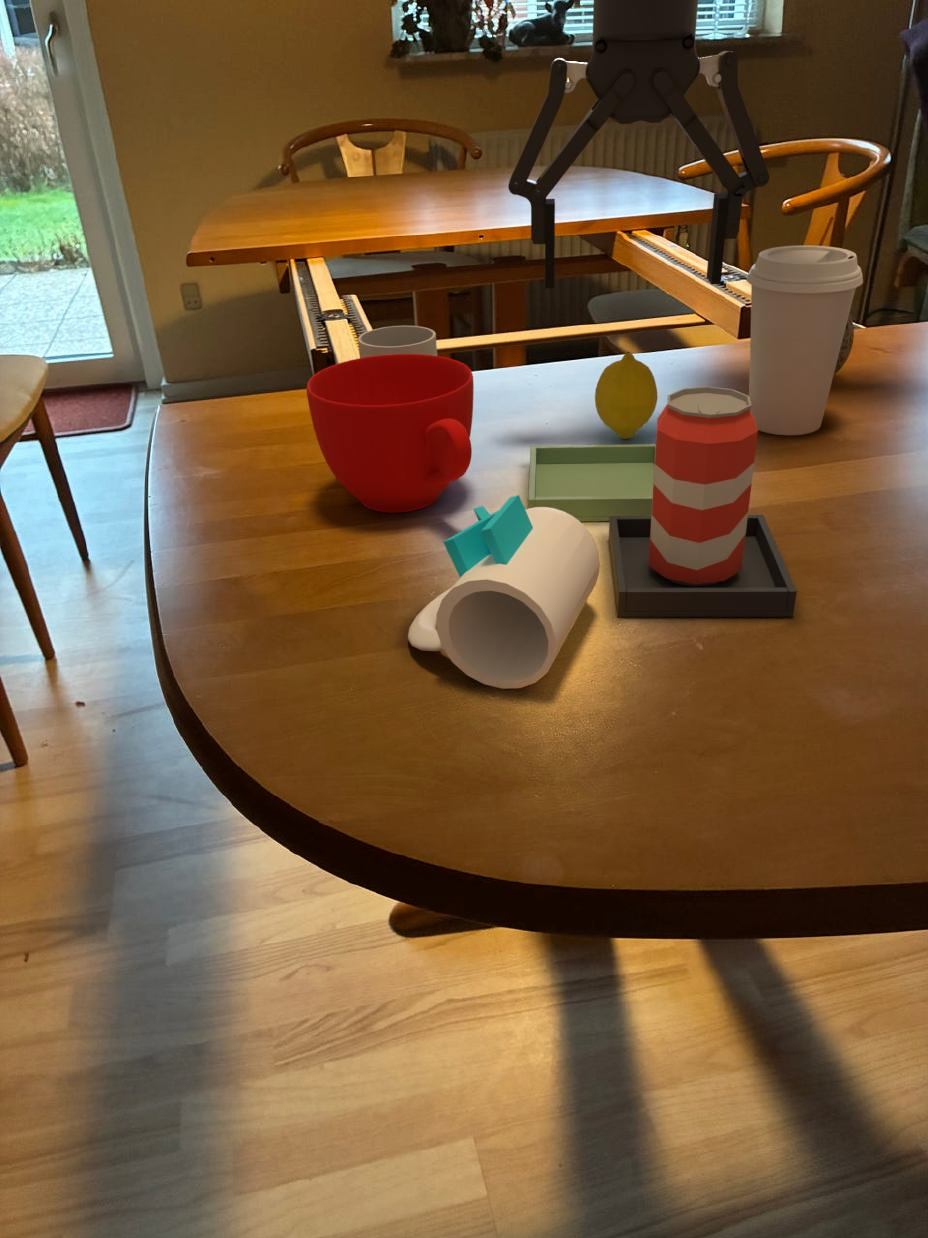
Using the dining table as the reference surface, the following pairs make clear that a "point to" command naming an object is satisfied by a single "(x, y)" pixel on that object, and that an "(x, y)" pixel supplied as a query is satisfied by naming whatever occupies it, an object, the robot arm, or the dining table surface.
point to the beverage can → (702, 485)
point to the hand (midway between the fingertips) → (630, 283)
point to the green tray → (593, 480)
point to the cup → (397, 341)
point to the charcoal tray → (742, 595)
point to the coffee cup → (797, 332)
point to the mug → (511, 594)
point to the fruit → (626, 396)
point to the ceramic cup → (394, 426)
